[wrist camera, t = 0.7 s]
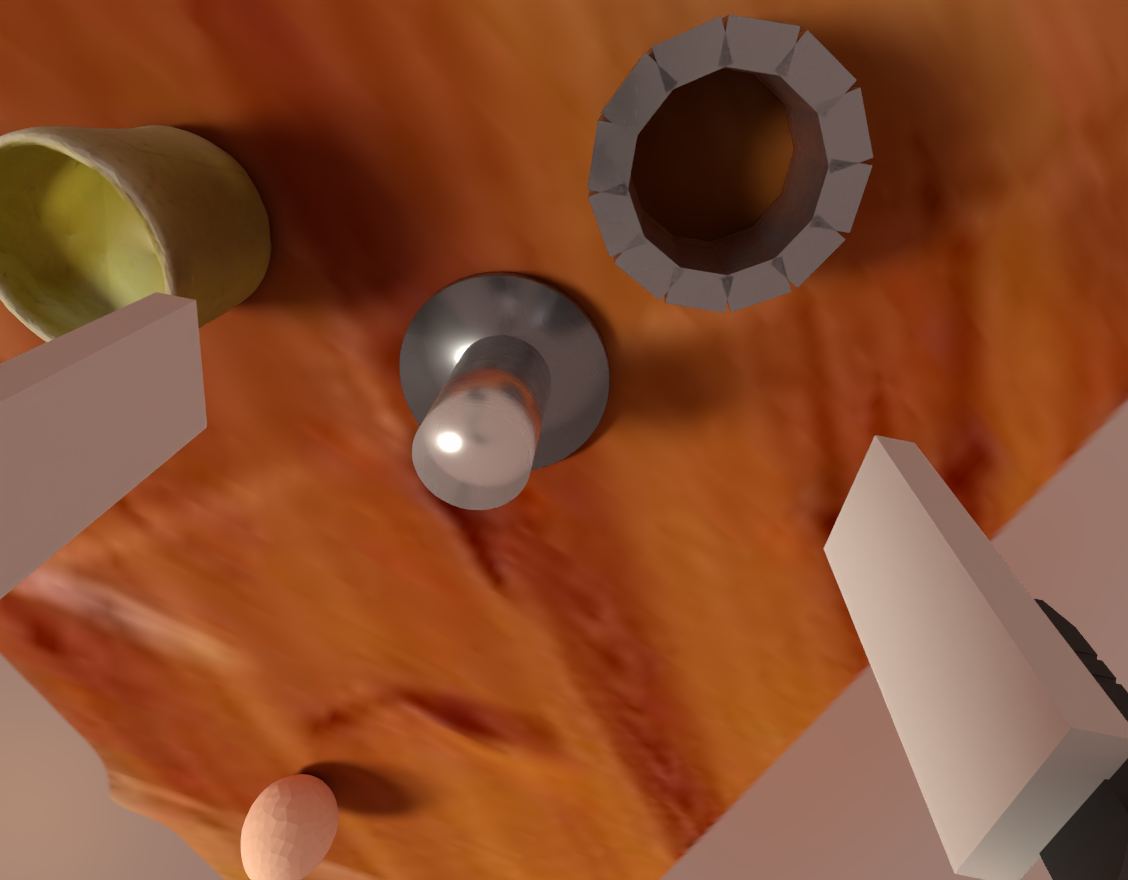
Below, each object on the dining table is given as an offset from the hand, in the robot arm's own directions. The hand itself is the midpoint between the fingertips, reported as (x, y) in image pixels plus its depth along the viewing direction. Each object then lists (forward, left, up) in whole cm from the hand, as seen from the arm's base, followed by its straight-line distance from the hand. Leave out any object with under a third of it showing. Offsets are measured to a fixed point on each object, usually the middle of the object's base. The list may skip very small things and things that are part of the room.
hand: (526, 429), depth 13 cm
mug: (+3, -21, -22) cm, 30 cm away
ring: (-3, +5, -21) cm, 22 cm away
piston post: (+9, -3, -21) cm, 23 cm away
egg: (+47, -15, -22) cm, 54 cm away
